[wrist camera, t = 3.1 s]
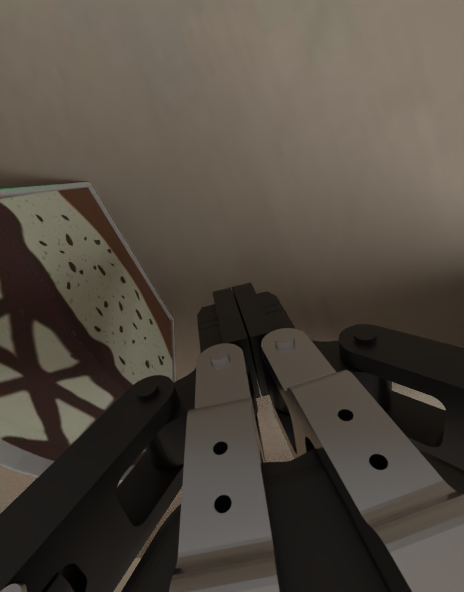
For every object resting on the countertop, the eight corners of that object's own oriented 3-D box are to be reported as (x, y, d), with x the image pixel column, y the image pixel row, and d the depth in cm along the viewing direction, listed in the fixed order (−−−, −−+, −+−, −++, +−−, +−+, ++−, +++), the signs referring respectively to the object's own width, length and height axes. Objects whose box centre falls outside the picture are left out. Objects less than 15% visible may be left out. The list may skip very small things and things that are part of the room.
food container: (-35, 205, 17) (-279, 284, 8) (71, 152, 16) (-62, 173, 8) (102, 373, 22) (49, 532, 13) (184, 337, 22) (185, 476, 13)
